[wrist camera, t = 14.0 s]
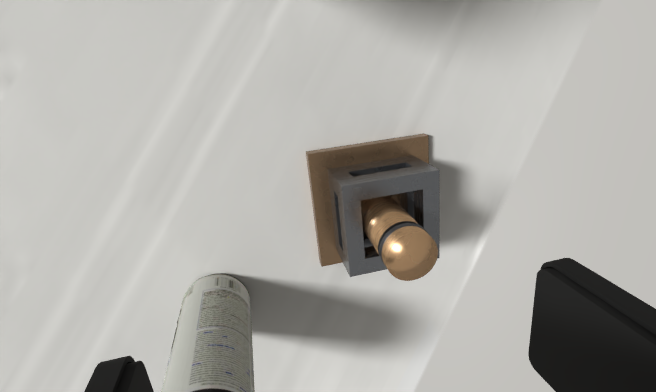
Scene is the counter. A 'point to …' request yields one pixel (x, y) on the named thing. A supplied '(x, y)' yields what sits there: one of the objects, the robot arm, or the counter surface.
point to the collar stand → (369, 195)
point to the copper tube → (398, 238)
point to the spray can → (212, 339)
